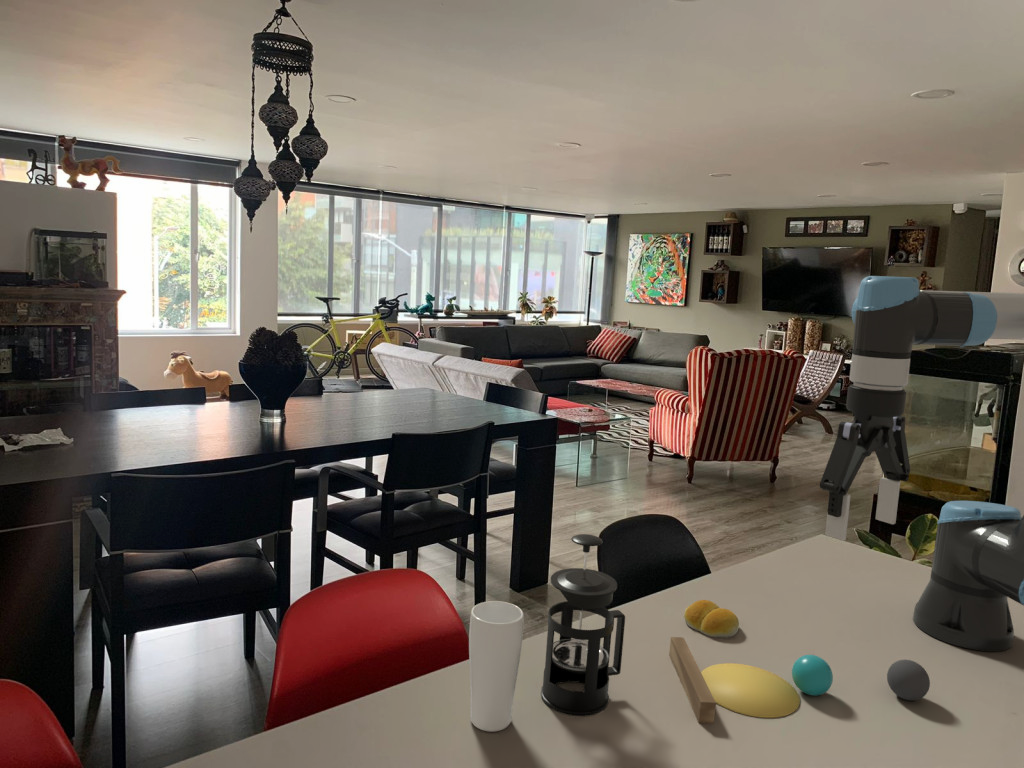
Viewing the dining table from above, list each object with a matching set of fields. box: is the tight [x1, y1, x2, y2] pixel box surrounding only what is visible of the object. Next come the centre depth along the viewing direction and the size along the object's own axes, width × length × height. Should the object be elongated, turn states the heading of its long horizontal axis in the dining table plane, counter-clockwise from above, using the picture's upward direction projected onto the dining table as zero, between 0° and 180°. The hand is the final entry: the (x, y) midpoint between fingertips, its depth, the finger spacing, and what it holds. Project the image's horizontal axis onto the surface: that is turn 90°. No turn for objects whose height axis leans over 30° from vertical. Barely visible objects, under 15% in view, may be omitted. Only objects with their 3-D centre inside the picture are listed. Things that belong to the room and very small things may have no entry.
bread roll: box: [683, 599, 740, 638], centre depth 130 cm, size 8×9×4 cm
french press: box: [540, 533, 626, 717], centre depth 104 cm, size 12×9×23 cm
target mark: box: [700, 662, 801, 719], centre depth 110 cm, size 14×14×1 cm
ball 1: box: [791, 654, 834, 697], centre depth 110 cm, size 6×6×6 cm
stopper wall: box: [668, 636, 717, 725], centre depth 110 cm, size 2×18×3 cm, turn 1°
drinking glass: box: [468, 600, 524, 733], centre depth 97 cm, size 7×7×15 cm
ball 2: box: [886, 659, 931, 701], centre depth 110 cm, size 6×6×6 cm
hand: (861, 529), depth 112 cm, fingers open, 13 cm apart
